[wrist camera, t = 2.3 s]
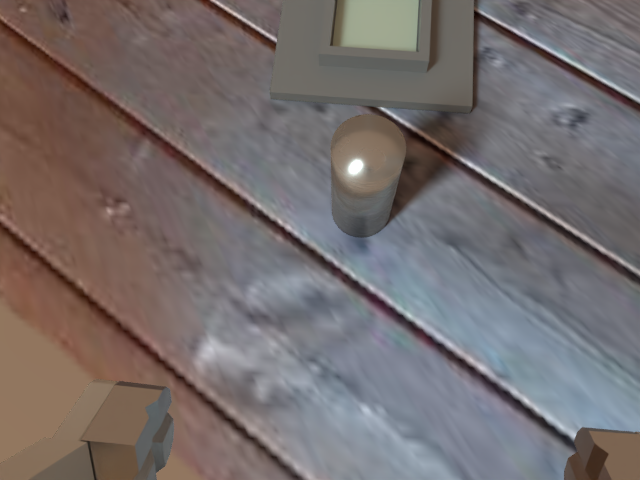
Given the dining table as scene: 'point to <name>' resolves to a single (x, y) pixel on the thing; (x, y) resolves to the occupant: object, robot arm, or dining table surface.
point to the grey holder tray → (376, 53)
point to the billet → (365, 173)
